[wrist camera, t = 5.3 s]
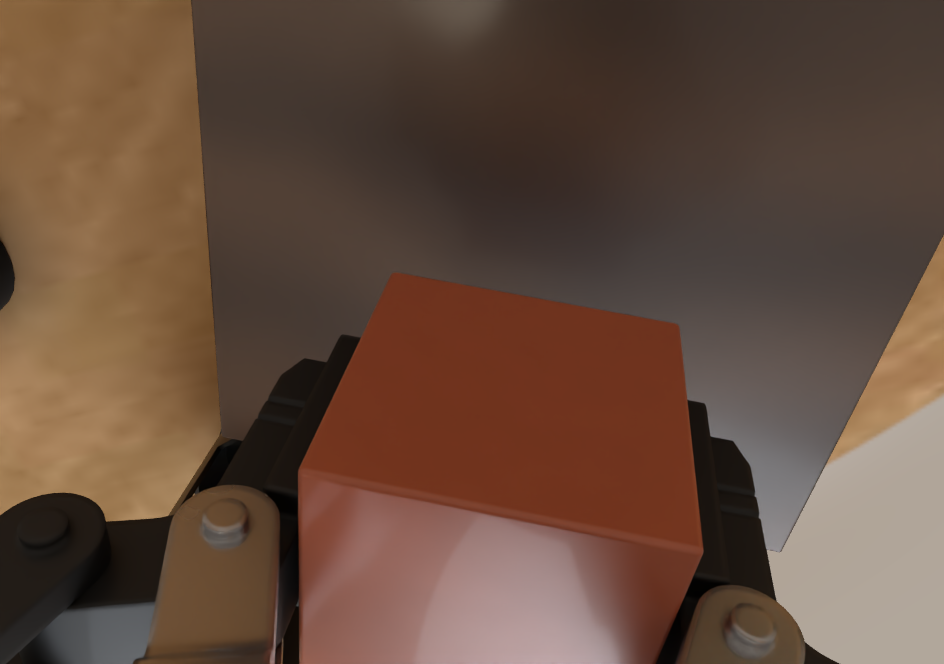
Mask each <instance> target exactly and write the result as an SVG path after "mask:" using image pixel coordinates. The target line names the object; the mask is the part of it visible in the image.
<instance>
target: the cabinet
mask: <svg viewBox="0 0 944 664" xmlns="http://www.w3.org/2000/svg"><path fill="white" fill-rule="evenodd" d="M191 4H192V18H193V32H194V46H195V60H196V75H197V89H198V103H199V117H200V131H201V146H202V160H203V174H204V188H205V202H206V216H207V231H208V245H209V259H210V273H211V287H212V302H213V316H214V330H215V344H216V358H217V373H218V387H219V401H220V415H221V429H222V436H223V437H226V438H231V439H236V440H241V441H243V440H244V438H245V436H246V435H247V433H248V431H249V429H250V428H251V426H252V424H253V423H254V421H255V419H257V418H258V414H259V412H260V410H261V409H262V407H263V405H264V404H265V402H266V401H268V397H269V395H270V393H271V391H272V390H273V388H274V386H275V384H276V383H277V381H278V379H279V378H280V376H281V375H282V374H283V373H284V372H286V371H287V370H289V369H290V368H291V367H293V366H294V365H296V364H297V363H298V362H300V361H301V360H303V359H304V358H307V359H312V360H317V361H322V362H327V360H328V358H329V356H330V354H331V352H332V351H333V349H334V347H335V345H336V343H337V341H338V339H339V337H340V336H341V335H342V334H345V335H350V336H355V337H362V335H363V332H364V330H365V328H366V326H367V324H368V322H369V320H370V318H371V316H372V313H373V311H374V309H375V307H376V305H377V303H378V301H379V299H380V297H381V294H382V292H383V290H384V288H385V286H386V284H387V282H388V280H389V278H390V276H391V274H392V273H396V272H397V273H403V274H408V275H414V276H419V277H425V278H430V279H436V280H441V281H446V282H452V283H457V284H463V285H468V286H474V287H479V288H485V289H490V290H496V291H501V292H507V293H512V294H517V295H523V296H528V297H534V298H539V299H545V300H550V301H556V302H561V303H567V304H572V305H577V306H583V307H588V308H594V309H599V310H605V311H610V312H616V313H621V314H627V315H632V316H638V317H643V318H648V319H654V320H659V321H665V322H670V323H675V324H677V325H678V326H679V328H680V336H681V345H682V355H683V364H684V373H685V382H686V392H687V400H691V401H696V402H701V403H705V405H706V408H707V414H708V421H709V429H710V436H711V437H716V438H721V439H727V440H732V441H734V443H735V444H736V446H737V447H738V449H739V450H740V452H741V453H742V454H743V456H744V457H745V459H746V460H747V462H748V463H749V465H750V466H751V471H752V476H753V482H754V487H755V497H757V503H758V508H759V513H760V514H759V519H761V524H762V529H763V534H764V539H765V545H766V550H771V551H776V552H781V551H782V549H783V547H784V545H785V543H786V541H787V539H788V537H789V535H790V533H791V532H792V530H793V527H794V526H795V524H796V522H797V520H798V518H799V516H800V514H801V512H802V510H803V508H804V506H805V504H806V502H807V500H808V498H809V496H810V494H811V492H812V491H813V489H814V487H815V484H816V483H817V481H818V479H819V477H820V475H821V473H822V471H823V469H824V467H825V465H826V463H827V461H828V459H829V457H830V455H831V454H832V452H833V450H834V448H835V446H836V444H837V442H838V440H839V438H840V436H841V434H842V432H843V430H844V428H845V426H846V424H847V422H848V420H849V418H850V416H851V415H852V413H853V411H854V409H855V407H856V405H857V403H858V401H859V399H860V397H861V395H862V393H863V391H864V389H865V387H866V385H867V383H868V381H869V379H870V377H871V376H872V374H873V372H874V370H875V368H876V366H877V364H878V362H879V360H880V358H881V356H882V354H883V352H884V350H885V348H886V346H887V344H888V342H889V340H890V338H891V337H892V335H893V333H894V331H895V329H896V327H897V325H898V323H899V321H900V319H901V317H902V315H903V313H904V311H905V309H906V307H907V305H908V303H909V301H910V300H911V298H912V296H913V294H914V292H915V290H916V288H917V286H918V284H919V282H920V280H921V278H922V276H923V274H924V272H925V270H926V268H927V266H928V264H929V262H930V261H931V259H932V257H933V255H934V253H935V251H936V249H937V247H938V245H939V243H940V241H941V239H942V237H943V235H944V0H191Z"/></svg>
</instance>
